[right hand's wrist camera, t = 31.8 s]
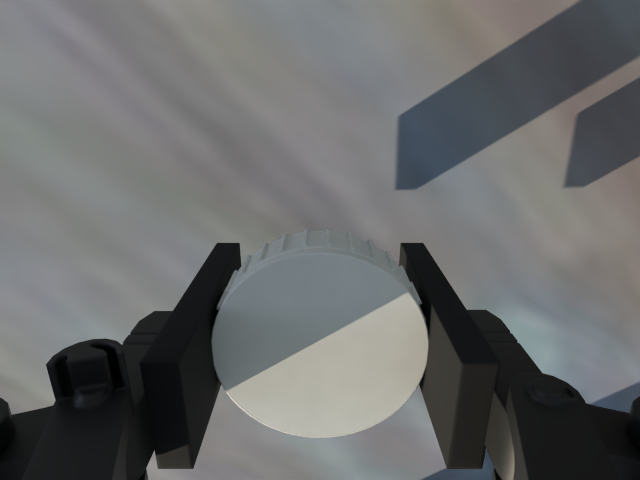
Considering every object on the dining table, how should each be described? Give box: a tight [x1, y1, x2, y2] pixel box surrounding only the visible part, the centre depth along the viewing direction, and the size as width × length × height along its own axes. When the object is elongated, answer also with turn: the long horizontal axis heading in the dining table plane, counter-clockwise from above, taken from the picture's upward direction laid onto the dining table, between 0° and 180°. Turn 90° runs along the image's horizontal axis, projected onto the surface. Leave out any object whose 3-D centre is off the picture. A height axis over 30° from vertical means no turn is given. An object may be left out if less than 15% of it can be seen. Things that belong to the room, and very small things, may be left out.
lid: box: [211, 228, 429, 438], centre depth 11 cm, size 6×6×2 cm
